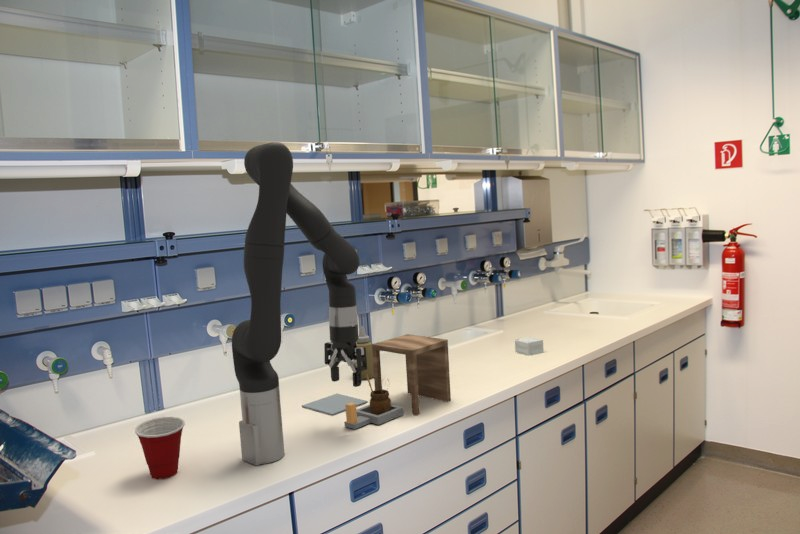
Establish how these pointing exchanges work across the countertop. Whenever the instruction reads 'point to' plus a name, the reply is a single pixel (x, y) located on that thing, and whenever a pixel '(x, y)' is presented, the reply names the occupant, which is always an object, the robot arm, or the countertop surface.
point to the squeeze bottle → (364, 342)
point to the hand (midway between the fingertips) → (346, 383)
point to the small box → (529, 346)
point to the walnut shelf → (418, 366)
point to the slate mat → (333, 404)
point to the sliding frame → (368, 415)
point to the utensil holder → (379, 400)
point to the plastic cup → (161, 445)
